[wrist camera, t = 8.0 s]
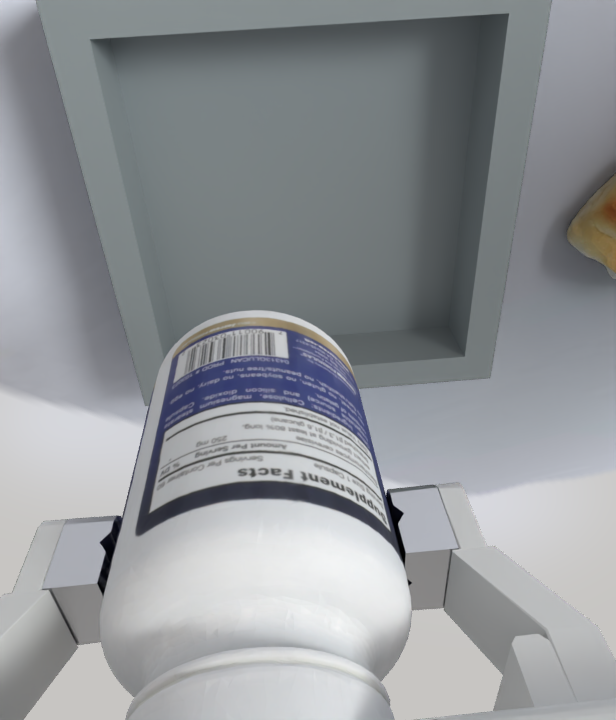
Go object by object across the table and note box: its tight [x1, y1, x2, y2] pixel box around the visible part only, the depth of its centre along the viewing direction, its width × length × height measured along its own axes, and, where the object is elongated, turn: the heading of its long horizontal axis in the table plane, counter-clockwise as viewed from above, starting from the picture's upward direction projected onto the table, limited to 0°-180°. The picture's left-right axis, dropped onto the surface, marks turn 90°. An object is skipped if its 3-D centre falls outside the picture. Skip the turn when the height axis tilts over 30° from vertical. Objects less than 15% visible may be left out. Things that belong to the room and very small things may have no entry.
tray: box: [36, 0, 552, 406], centre depth 26 cm, size 18×18×4 cm
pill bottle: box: [100, 310, 412, 720], centre depth 12 cm, size 5×5×10 cm
